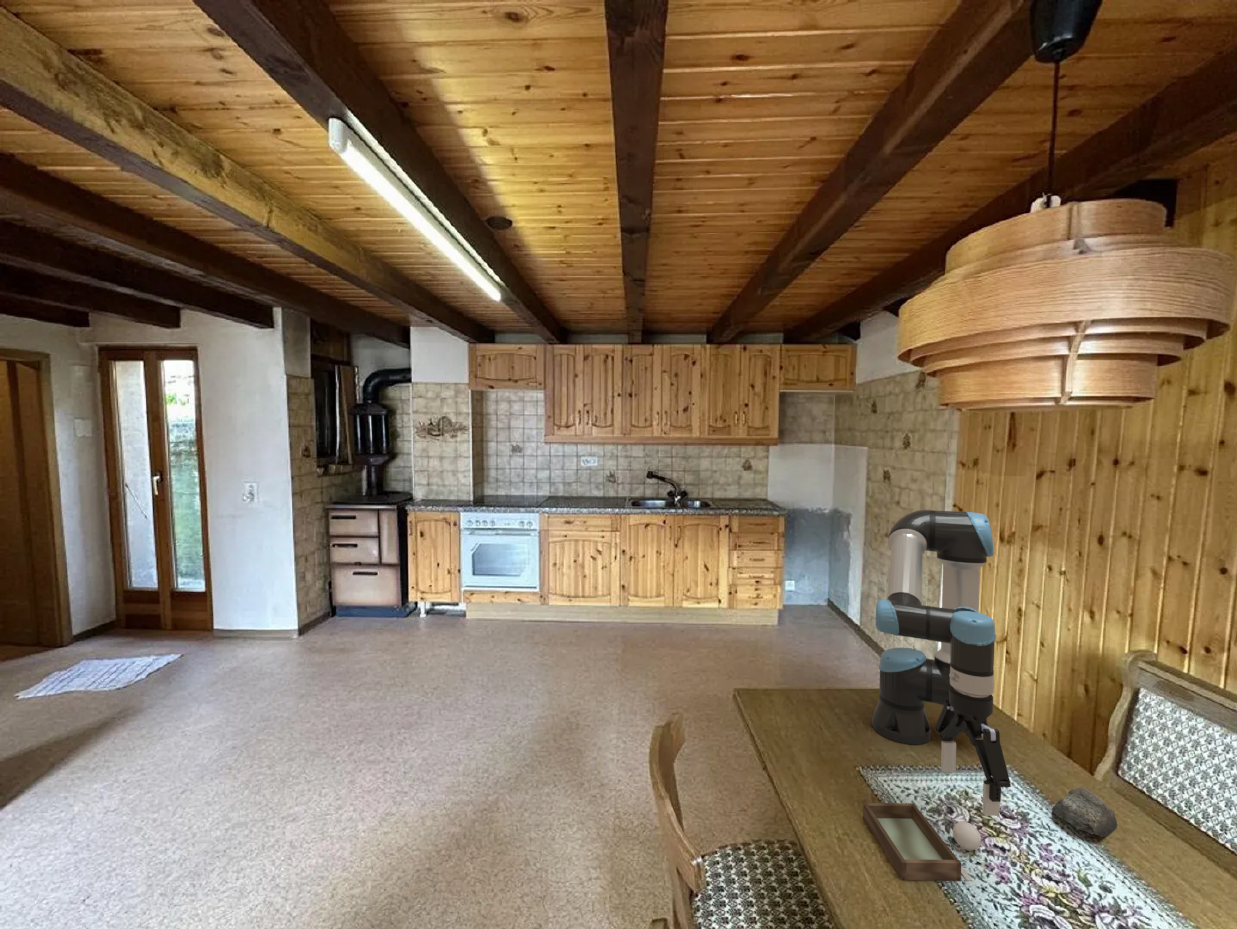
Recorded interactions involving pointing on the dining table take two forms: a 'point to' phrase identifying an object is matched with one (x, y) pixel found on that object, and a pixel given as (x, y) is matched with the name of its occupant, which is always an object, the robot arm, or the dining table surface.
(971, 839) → the cream egg
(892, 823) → the brown wooden tray
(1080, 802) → the rock
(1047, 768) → the dining table surface
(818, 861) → the dining table surface
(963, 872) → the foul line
